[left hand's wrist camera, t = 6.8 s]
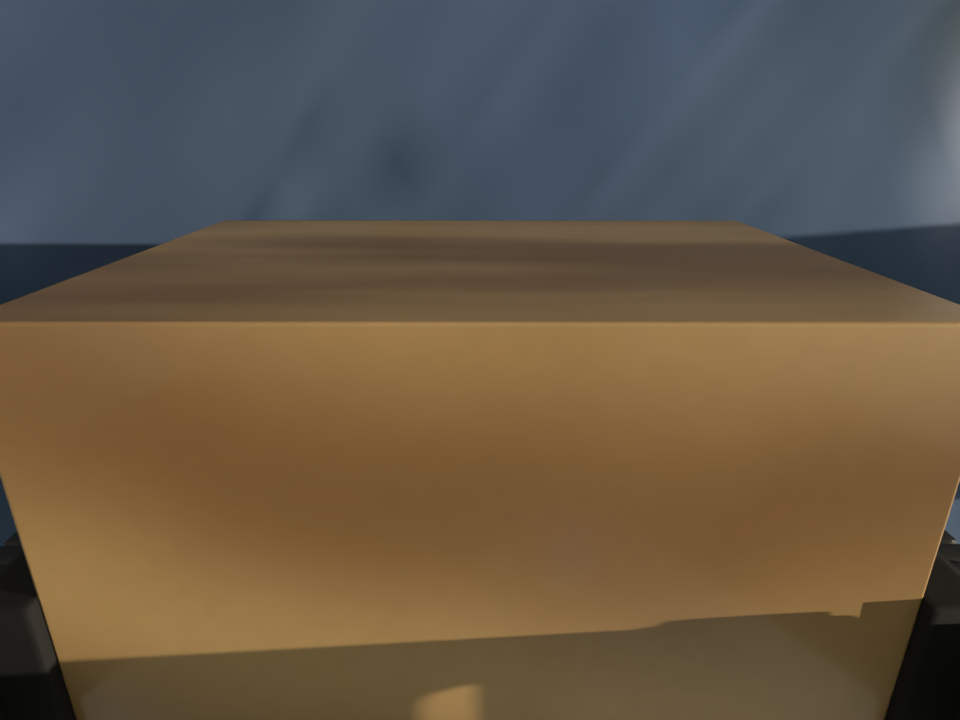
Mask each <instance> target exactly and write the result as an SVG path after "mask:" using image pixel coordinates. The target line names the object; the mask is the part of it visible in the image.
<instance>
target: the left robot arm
mask: <svg viewBox="0 0 960 720" xmlns="http://www.w3.org/2000/svg"><path fill="white" fill-rule="evenodd" d="M0 720H76V718H75V715H74V712H73V708H72V705H71V702H70V699H69V696H68V692H67V689H66V686H65V683H64V680H63V676H62V673H61V670H60V667H59V664H58V660H57V657H56V654H55V651H54V647H53V644H52V641H51V638H50V635H49V631H48V628H47V625H46V622H45V619H44V615H43V612H42V609H41V606H40V603H39V599H38V596H37V593H36V590H35V587H34V583H33V580H32V577H31V574H30V571H29V567H28V564H27V561H26V558H25V555H24V551H23V548H22V545H21V542H20V539H19V535H18V532H16V533H15V534H14V535H13V536H12V537H11V538H9V539H8V540H7V541H6V542H5V546H4V547H0ZM885 720H960V544H957V543H956V540H955V539H954V538H953V537H952V536H951V535H950V534H949V533H947V532H946V531H945V530H944V532H943V535H942V539H941V542H940V545H939V548H938V551H937V555H936V558H935V561H934V564H933V567H932V570H931V574H930V577H929V580H928V583H927V586H926V590H925V593H924V596H923V599H922V602H921V606H920V609H919V612H918V615H917V618H916V621H915V625H914V628H913V631H912V634H911V637H910V641H909V644H908V647H907V650H906V653H905V657H904V660H903V663H902V666H901V669H900V672H899V676H898V679H897V682H896V685H895V688H894V692H893V695H892V698H891V701H890V704H889V708H888V711H887V714H886V717H885Z"/></svg>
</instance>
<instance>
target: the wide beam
mask: <svg viewBox="0 0 960 720" xmlns="http://www.w3.org/2000/svg"><path fill="white" fill-rule="evenodd" d="M0 478H1V481H2V484H3V487H4V491H5V494H6V497H7V500H8V503H9V507H10V510H11V513H12V516H13V519H14V523H15V526H16V529H17V532H18V535H19V539H20V542H21V545H22V548H23V551H24V555H25V558H26V561H27V564H28V567H29V571H30V574H31V577H32V580H33V583H34V587H35V590H36V593H37V596H38V599H39V603H40V606H41V609H42V612H43V615H44V619H45V622H46V625H47V628H48V631H49V635H50V638H51V641H52V644H53V647H54V651H55V654H56V657H57V660H58V664H59V667H60V670H61V673H62V676H63V680H64V683H65V686H66V689H67V692H68V696H69V699H70V702H71V705H72V708H73V712H74V715H75V718H76V720H885V717H886V714H887V711H888V708H889V704H890V701H891V698H892V695H893V692H894V688H895V685H896V682H897V679H898V676H899V672H900V669H901V666H902V663H903V660H904V657H905V653H906V650H907V647H908V644H909V641H910V637H911V634H912V631H913V628H914V625H915V621H916V618H917V615H918V612H919V609H920V606H921V602H922V599H923V596H924V593H925V590H926V586H927V583H928V580H929V577H930V574H931V570H932V567H933V564H934V561H935V558H936V555H937V551H938V548H939V545H940V542H941V539H942V535H943V532H944V529H945V526H946V523H947V519H948V516H949V513H950V510H951V507H952V504H953V500H954V497H955V494H956V491H957V488H958V484H959V481H960V305H959V304H956V303H953V302H951V301H948V300H945V299H943V298H940V297H937V296H935V295H932V294H929V293H927V292H924V291H921V290H919V289H916V288H913V287H911V286H908V285H906V284H903V283H900V282H898V281H895V280H892V279H890V278H887V277H884V276H882V275H879V274H876V273H874V272H871V271H868V270H866V269H863V268H860V267H858V266H855V265H852V264H850V263H847V262H844V261H842V260H839V259H836V258H834V257H831V256H828V255H826V254H823V253H820V252H818V251H815V250H812V249H810V248H807V247H805V246H802V245H799V244H797V243H794V242H791V241H789V240H786V239H783V238H781V237H778V236H775V235H773V234H770V233H767V232H765V231H762V230H759V229H757V228H754V227H751V226H749V225H746V224H743V223H741V222H738V221H399V220H225V221H222V222H219V223H217V224H214V225H211V226H209V227H206V228H203V229H201V230H198V231H195V232H193V233H190V234H187V235H185V236H182V237H180V238H177V239H174V240H172V241H169V242H166V243H164V244H161V245H158V246H156V247H153V248H150V249H148V250H145V251H142V252H140V253H137V254H134V255H132V256H129V257H126V258H124V259H121V260H118V261H116V262H113V263H110V264H108V265H105V266H102V267H100V268H97V269H94V270H92V271H89V272H86V273H84V274H81V275H78V276H76V277H73V278H70V279H68V280H65V281H62V282H60V283H57V284H55V285H52V286H49V287H47V288H44V289H41V290H39V291H36V292H33V293H31V294H28V295H25V296H23V297H20V298H17V299H15V300H12V301H9V302H7V303H4V304H1V305H0Z"/></svg>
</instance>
